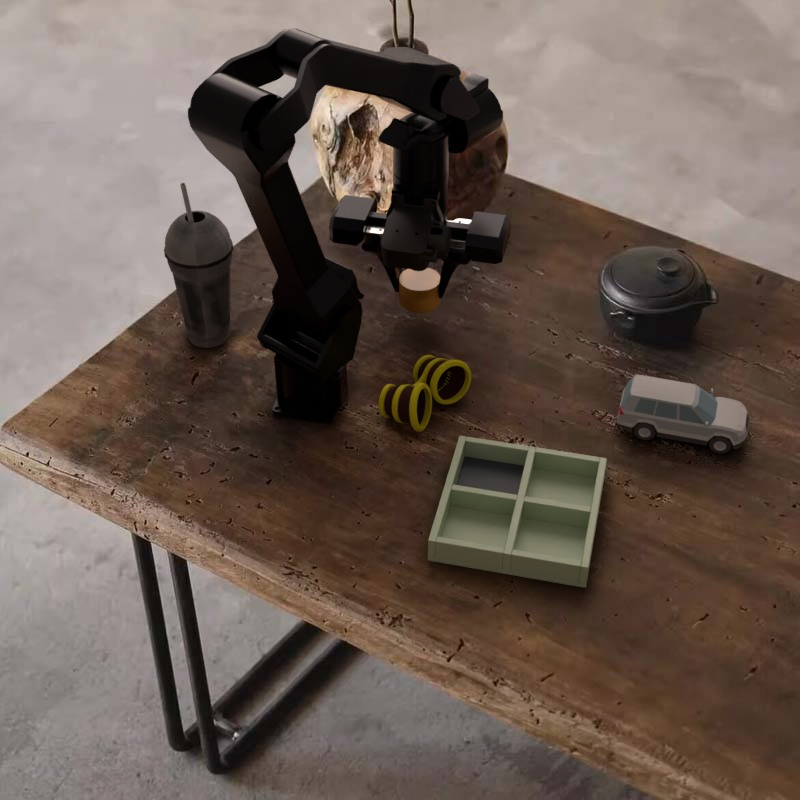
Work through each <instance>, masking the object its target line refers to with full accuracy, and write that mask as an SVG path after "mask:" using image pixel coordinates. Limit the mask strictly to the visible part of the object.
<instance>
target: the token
mask: <svg viewBox="0 0 800 800" xmlns="http://www.w3.org/2000/svg"><path fill="white" fill-rule="evenodd" d="M440 276H441V274H440V273H439V272H437V270H435V269H433V268H430V267H428V268H427V269H425V270H423V271H414V270H412V269H406V268H405V270H402V273H401V274H400V276H399V292H398V303H399V305H400V307H402V308H403V309H404V310H406V311H408V312H411V313H416V314H424V313H430V312H432V311H434V310H436V309H437V308H438V307H439V306H440V304H441V298H439V293H438V288H439V282H440Z"/></svg>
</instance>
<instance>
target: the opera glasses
mask: <svg viewBox="0 0 800 800" xmlns="http://www.w3.org/2000/svg"><path fill="white" fill-rule="evenodd" d="M467 364H468V363H465V361H462V360H460V359H448V358H441V357H436V356H434V355H432V354H425V355H423V356H421V357H420V358H419V359H418V360H417V361H416V363H415V365H414V366H413V371H412V378H413V381H414V383H413V384H411V383H408V384H401V385H399V384H397V385H396V384H393V383H387V384H386V385H385V386H384V387H383V388H382V390H381V393H380V395H379V398H378V411H379V414H380V415H381V416H382V417H383V418H387V419H392V420H394V421H396V422H397V423H400V424H402V425H405V424H407V425H410V426H411V427H412V429H413V431H415V432H419V433H420V432H424V430H426V428H427V426H428V424H429V421H430V419H431V415H432V409H433V400H434V401H435V402H437V403H438V404H440V405H445V406H447V405H452V404H455V403H456V402H458V401H460V400H461V399H462V398H463V397H464V396H465V395H466V394H467V392H468V390H469V389H470V386H471V383H472V371H471V369H470V367H469V366H468V365H467Z"/></svg>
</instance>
